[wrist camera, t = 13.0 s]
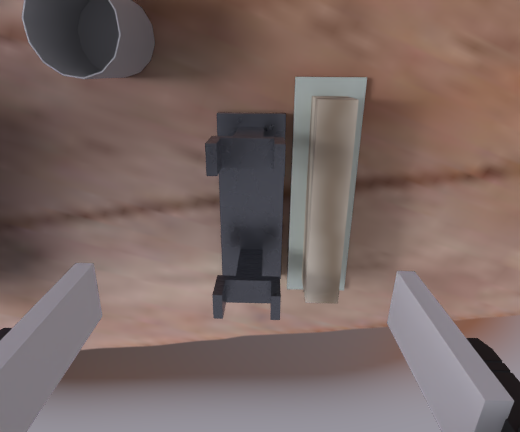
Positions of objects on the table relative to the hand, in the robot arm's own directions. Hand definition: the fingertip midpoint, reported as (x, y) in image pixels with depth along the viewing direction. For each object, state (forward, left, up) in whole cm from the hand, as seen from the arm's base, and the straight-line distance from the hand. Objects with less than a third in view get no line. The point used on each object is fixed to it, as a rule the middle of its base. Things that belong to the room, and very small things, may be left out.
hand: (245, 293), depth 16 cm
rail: (+8, -5, -30) cm, 32 cm away
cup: (-16, +13, -31) cm, 37 cm away
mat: (+8, -5, -31) cm, 32 cm away
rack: (-1, -6, -31) cm, 31 cm away
